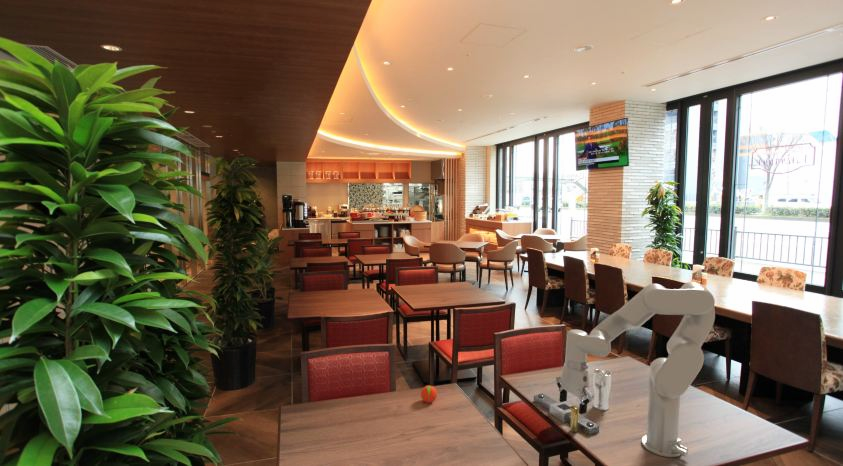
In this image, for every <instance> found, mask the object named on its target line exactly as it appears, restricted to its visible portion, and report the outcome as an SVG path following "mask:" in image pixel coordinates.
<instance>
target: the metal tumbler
mask: <svg viewBox="0 0 843 466" xmlns="http://www.w3.org/2000/svg"><path fill="white" fill-rule="evenodd" d="M592 387H593V396H594V398H593V399H594V400H593V404H592V406H593V408H595V409H597V410H599V411H608V410H609V409H610V405H609V396H610V393H611V389H612V373H611V371H609V370H607V369H606V370H605V369H601V368H597V369H594V370H593V377H592Z"/></svg>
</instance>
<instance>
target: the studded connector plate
mask: <svg viewBox="0 0 843 466" xmlns="http://www.w3.org/2000/svg"><path fill="white" fill-rule="evenodd" d="M533 402H535V403H536V404H538V405H539V406H541V407H542V408H544V409H546V410H547V411H549V414H550V415H552V416H553V417H555V418H556V419H557V420H559V421H561V422H563V423H566V422H567V423H568V424H571V409H570V406H574V405H573V404H571V403H570V402H568V401H565V402H559V401H557V400H555V399H553V398H552V397H550V396H549V395H547V394H545V393H539V394H536V395H533ZM578 430H580V431H582V433H585V434H586V433H587V434H586V435H589V436H591V435H595V434H597V433H600V425H598V424H597V423H595V422H593V421H592V420H590V419H588V418H586V417H585V416H583V415H582V414H579V421H578Z"/></svg>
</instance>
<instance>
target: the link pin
mask: <svg viewBox="0 0 843 466" xmlns="http://www.w3.org/2000/svg"><path fill="white" fill-rule="evenodd" d="M579 407H580V406H578V405H573V406H570V409H571V424H570V423H569V424H570V428H569V429H570V432H572V433H575V434H576V433H579V429H578V421H579Z"/></svg>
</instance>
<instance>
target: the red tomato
mask: <svg viewBox="0 0 843 466" xmlns="http://www.w3.org/2000/svg"><path fill="white" fill-rule="evenodd" d="M420 396H421V399H422V401H424V402H425V403H427V404H429V403H433V402H434V401H435V400H436V399H437V397H438V392H437V389H436V388H435V387H434V386H432V385H429V384H428V385H425V386H424V387H423V388H422V389H421V392H420Z"/></svg>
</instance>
